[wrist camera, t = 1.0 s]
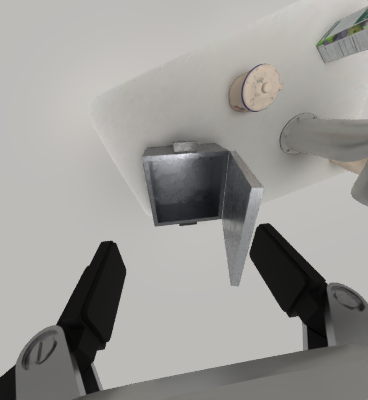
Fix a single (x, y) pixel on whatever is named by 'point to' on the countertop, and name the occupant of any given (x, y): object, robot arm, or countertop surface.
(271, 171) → the countertop surface
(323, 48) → the syrup box
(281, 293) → the robot arm
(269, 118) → the countertop surface
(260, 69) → the teacup with lid
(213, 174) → the grey lidded box
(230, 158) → the cooker lid
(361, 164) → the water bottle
